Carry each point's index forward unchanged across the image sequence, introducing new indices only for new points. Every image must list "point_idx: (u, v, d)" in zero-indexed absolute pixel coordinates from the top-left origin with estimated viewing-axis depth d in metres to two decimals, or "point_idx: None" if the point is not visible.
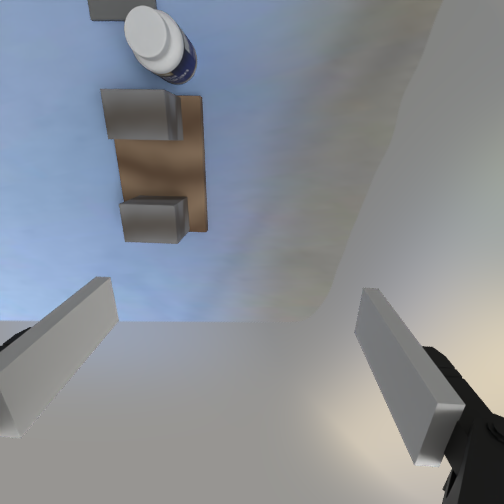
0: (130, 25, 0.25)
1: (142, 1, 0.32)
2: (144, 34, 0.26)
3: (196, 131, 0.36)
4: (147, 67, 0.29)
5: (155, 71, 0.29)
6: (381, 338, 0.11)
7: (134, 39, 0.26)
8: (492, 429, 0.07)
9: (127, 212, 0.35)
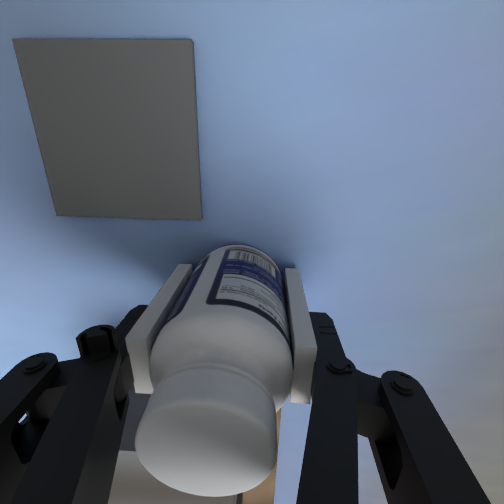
0: (155, 440, 0.07)
1: (171, 187, 0.14)
2: (203, 459, 0.08)
3: None
4: None
5: None
6: (287, 307, 0.13)
7: (167, 466, 0.08)
8: (329, 366, 0.09)
9: None
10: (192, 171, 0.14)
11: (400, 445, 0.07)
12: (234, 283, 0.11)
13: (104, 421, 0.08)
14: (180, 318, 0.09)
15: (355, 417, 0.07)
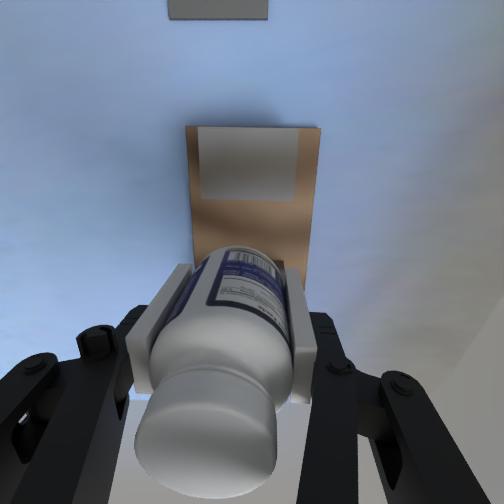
0: (154, 442, 0.07)
1: None
2: (203, 461, 0.08)
3: (307, 177, 0.26)
4: None
5: None
6: (287, 307, 0.13)
7: (167, 468, 0.08)
8: (329, 365, 0.09)
9: None
10: None
11: (400, 445, 0.07)
12: (233, 284, 0.11)
13: (104, 421, 0.08)
14: (180, 320, 0.09)
15: (355, 417, 0.07)
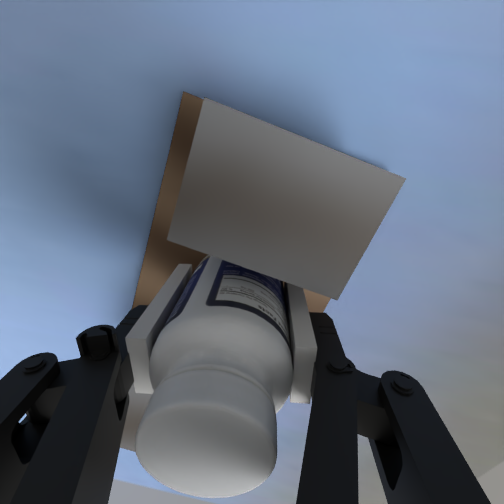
0: (154, 442, 0.07)
1: None
2: (203, 460, 0.08)
3: None
4: None
5: None
6: (287, 307, 0.13)
7: (167, 467, 0.08)
8: (329, 366, 0.09)
9: (144, 400, 0.13)
10: None
11: (400, 445, 0.07)
12: (233, 284, 0.11)
13: (104, 421, 0.08)
14: (180, 320, 0.10)
15: (355, 417, 0.07)
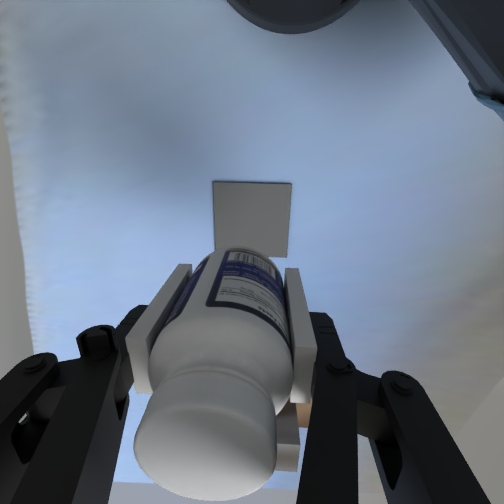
0: (154, 445, 0.07)
1: (274, 242, 0.30)
2: (203, 463, 0.08)
3: None
4: None
5: None
6: (287, 307, 0.13)
7: (166, 470, 0.08)
8: (329, 366, 0.09)
9: None
10: (285, 235, 0.30)
11: (400, 445, 0.07)
12: (233, 285, 0.11)
13: (104, 421, 0.08)
14: (179, 321, 0.09)
15: (355, 417, 0.07)
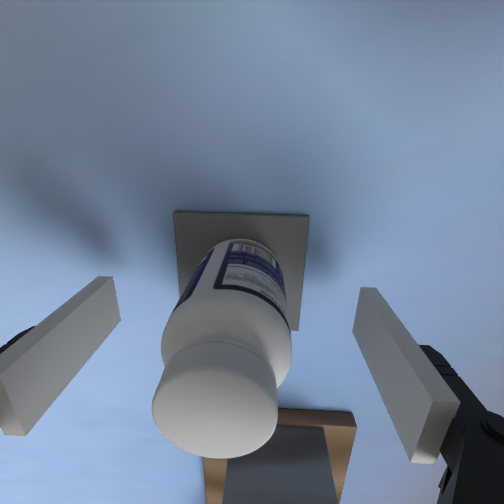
0: (170, 405, 0.08)
1: None
2: (212, 422, 0.09)
3: (339, 461, 0.23)
4: None
5: None
6: (378, 337, 0.11)
7: (180, 429, 0.09)
8: (486, 426, 0.07)
9: None
10: (296, 298, 0.18)
11: None
12: (237, 271, 0.12)
13: None
14: (189, 301, 0.10)
15: None
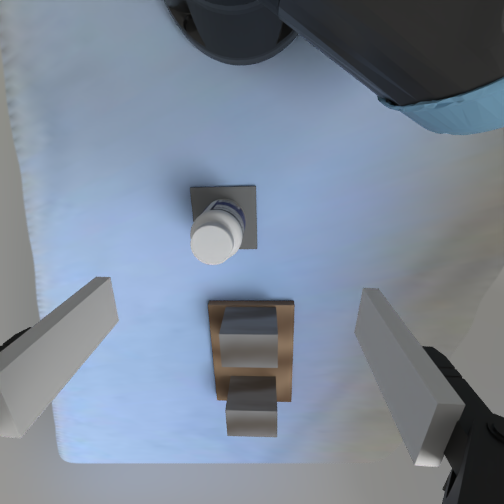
0: (196, 241, 0.26)
1: (245, 236, 0.35)
2: (211, 248, 0.26)
3: (288, 330, 0.39)
4: None
5: None
6: (381, 338, 0.11)
7: (200, 251, 0.26)
8: (492, 429, 0.07)
9: (232, 416, 0.38)
10: (254, 230, 0.35)
11: None
12: (220, 206, 0.29)
13: None
14: (201, 214, 0.28)
15: None
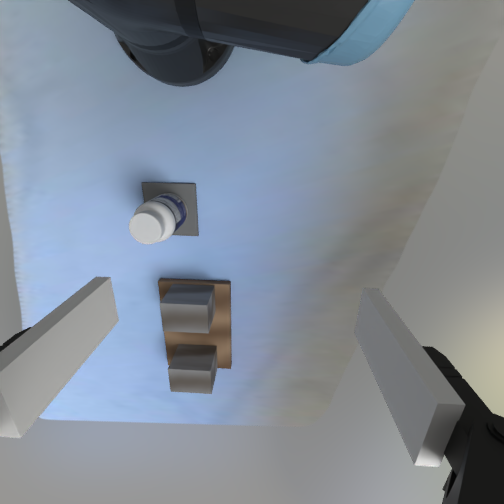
0: (133, 225, 0.33)
1: (188, 225, 0.43)
2: (144, 230, 0.33)
3: (225, 306, 0.47)
4: None
5: None
6: (381, 338, 0.11)
7: (136, 233, 0.33)
8: (492, 429, 0.07)
9: (174, 374, 0.45)
10: (195, 220, 0.42)
11: None
12: (159, 198, 0.37)
13: None
14: None
15: None
